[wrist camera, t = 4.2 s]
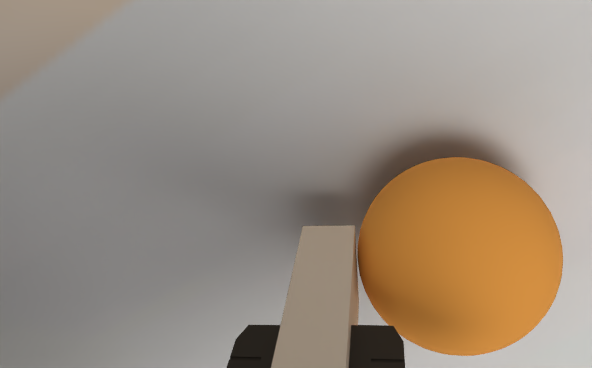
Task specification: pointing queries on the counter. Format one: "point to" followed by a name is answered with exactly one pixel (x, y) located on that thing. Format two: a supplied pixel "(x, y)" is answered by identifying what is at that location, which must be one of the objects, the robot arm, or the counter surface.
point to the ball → (460, 256)
